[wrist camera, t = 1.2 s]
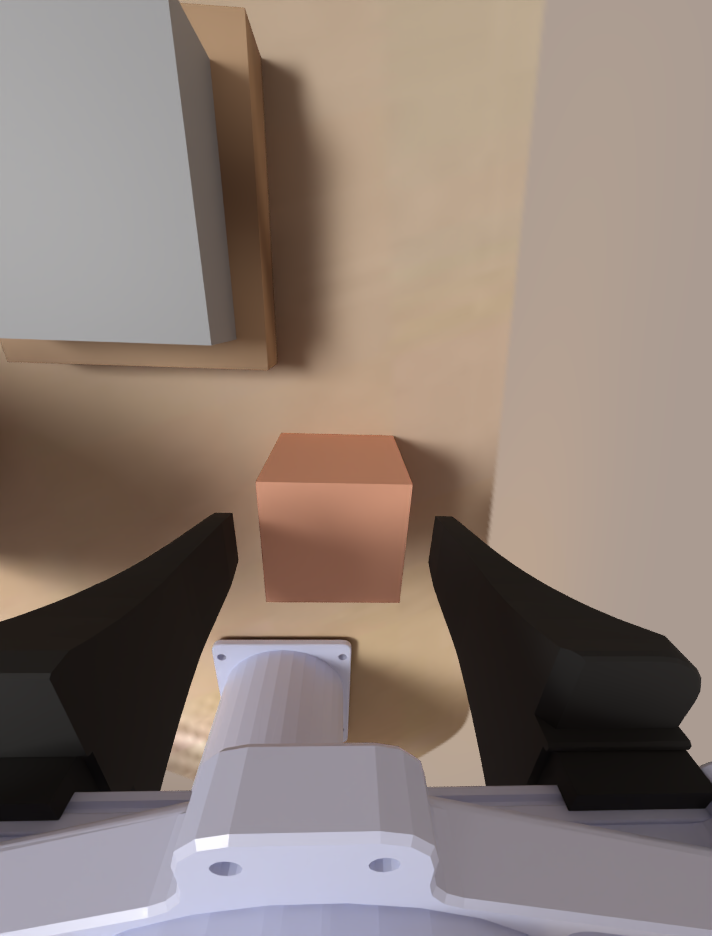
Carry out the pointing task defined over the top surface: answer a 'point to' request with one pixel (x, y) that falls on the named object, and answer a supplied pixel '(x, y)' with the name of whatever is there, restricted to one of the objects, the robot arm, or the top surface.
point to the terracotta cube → (333, 518)
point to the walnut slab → (244, 218)
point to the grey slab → (109, 176)
